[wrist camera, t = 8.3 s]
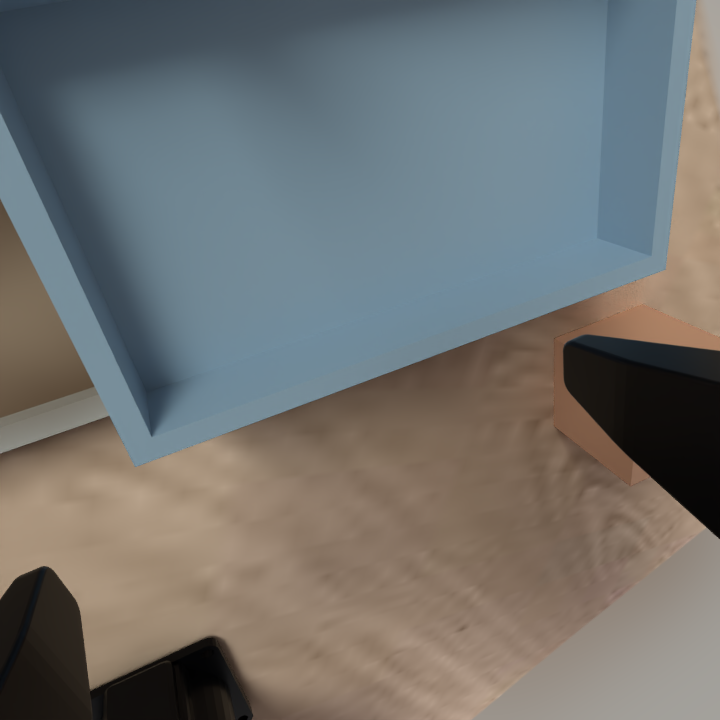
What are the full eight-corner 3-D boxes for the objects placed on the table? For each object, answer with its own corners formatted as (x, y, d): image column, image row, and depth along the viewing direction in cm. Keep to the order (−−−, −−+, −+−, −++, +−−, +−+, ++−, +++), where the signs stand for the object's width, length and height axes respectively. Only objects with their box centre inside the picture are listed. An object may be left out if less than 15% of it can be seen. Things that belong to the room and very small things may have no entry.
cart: (555, 230, 21) (665, 269, 17) (128, 371, 17) (135, 467, 13) (557, -97, 16) (714, -157, 12) (-42, 0, 12) (-119, -39, 8)
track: (545, 246, 23) (572, 257, 21) (-317, 537, 16) (-357, 580, 14) (544, -138, 17) (582, -156, 15) (-868, 59, 10) (-1024, 58, 8)
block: (632, 390, 29) (720, 443, 25) (552, 425, 28) (630, 486, 24) (641, 303, 26) (740, 346, 22) (553, 337, 25) (640, 389, 21)
